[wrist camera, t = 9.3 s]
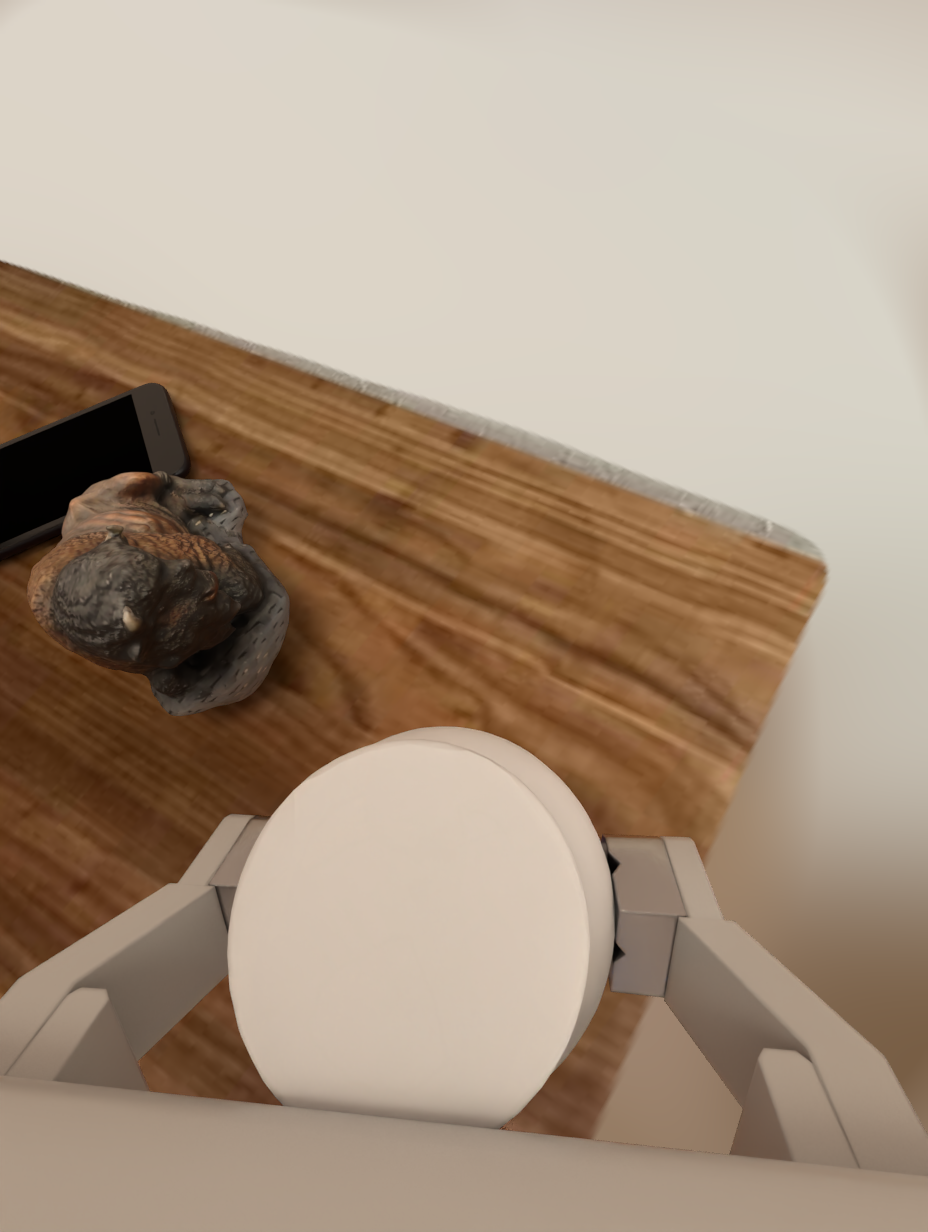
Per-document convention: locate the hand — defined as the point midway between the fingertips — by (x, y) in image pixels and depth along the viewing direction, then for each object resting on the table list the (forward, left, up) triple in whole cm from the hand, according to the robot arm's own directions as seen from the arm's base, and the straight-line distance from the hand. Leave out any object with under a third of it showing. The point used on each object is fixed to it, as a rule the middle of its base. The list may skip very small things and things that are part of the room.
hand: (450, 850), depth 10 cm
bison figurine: (+16, -1, -11) cm, 19 cm away
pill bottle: (0, +1, -6) cm, 6 cm away
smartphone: (+29, 0, -11) cm, 31 cm away
